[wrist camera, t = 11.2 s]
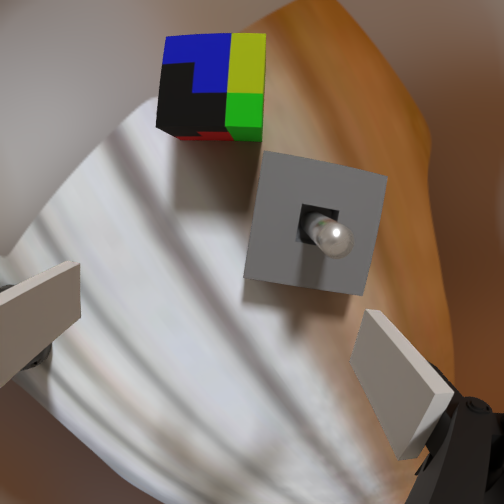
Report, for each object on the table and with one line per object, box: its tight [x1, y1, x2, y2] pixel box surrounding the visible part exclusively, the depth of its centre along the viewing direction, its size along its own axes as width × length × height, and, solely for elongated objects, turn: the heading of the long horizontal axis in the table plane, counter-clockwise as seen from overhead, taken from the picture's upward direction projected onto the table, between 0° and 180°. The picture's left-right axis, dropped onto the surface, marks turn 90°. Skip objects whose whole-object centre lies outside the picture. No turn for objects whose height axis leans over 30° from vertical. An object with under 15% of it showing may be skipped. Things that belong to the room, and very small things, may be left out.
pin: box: [301, 211, 354, 259], centre depth 31 cm, size 3×3×13 cm
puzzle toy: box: [156, 33, 266, 142], centre depth 31 cm, size 10×10×10 cm
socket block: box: [243, 151, 388, 296], centre depth 36 cm, size 14×14×5 cm
